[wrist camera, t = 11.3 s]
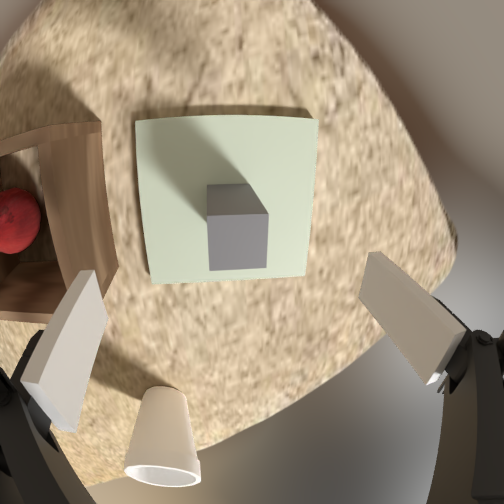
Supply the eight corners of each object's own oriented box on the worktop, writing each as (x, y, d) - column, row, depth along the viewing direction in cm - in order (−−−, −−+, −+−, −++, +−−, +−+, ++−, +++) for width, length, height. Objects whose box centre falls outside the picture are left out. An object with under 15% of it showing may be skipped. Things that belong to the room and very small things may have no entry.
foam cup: (131, 406, 36) (123, 479, 24) (135, 373, 33) (124, 459, 21) (190, 417, 39) (193, 489, 27) (204, 387, 35) (210, 471, 24)
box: (17, 270, 24) (-23, 316, 16) (-8, 150, 18) (-65, 170, 10) (118, 266, 26) (91, 325, 18) (101, 121, 20) (49, 125, 12)
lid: (154, 275, 27) (137, 341, 19) (139, 120, 21) (99, 122, 12) (300, 268, 29) (334, 327, 21) (311, 119, 23) (367, 122, 14)
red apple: (8, 186, 20) (-40, 213, 13) (46, 173, 20) (-3, 197, 13) (21, 238, 22) (-20, 275, 15) (60, 229, 23) (19, 269, 16)
